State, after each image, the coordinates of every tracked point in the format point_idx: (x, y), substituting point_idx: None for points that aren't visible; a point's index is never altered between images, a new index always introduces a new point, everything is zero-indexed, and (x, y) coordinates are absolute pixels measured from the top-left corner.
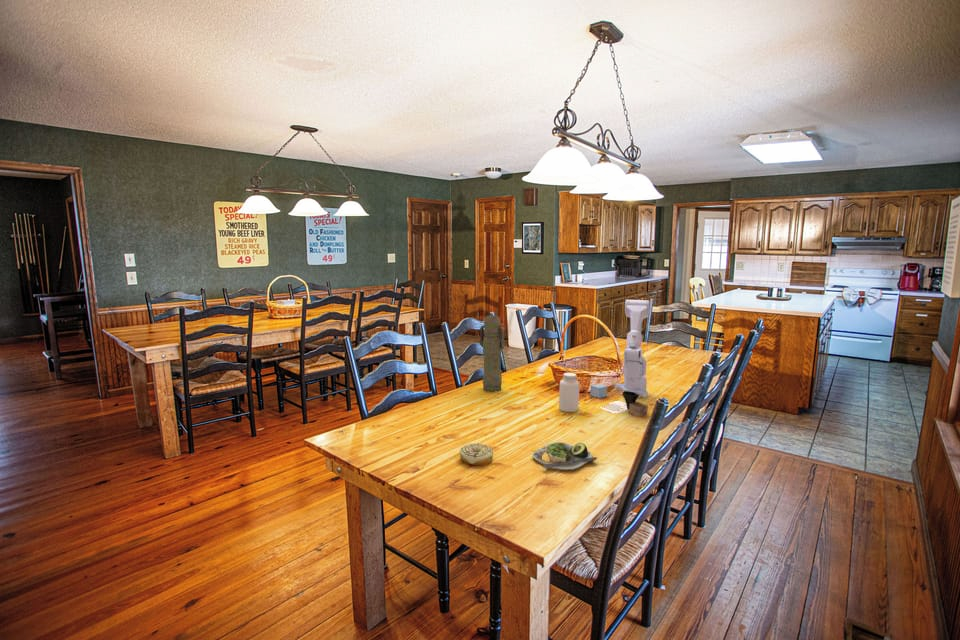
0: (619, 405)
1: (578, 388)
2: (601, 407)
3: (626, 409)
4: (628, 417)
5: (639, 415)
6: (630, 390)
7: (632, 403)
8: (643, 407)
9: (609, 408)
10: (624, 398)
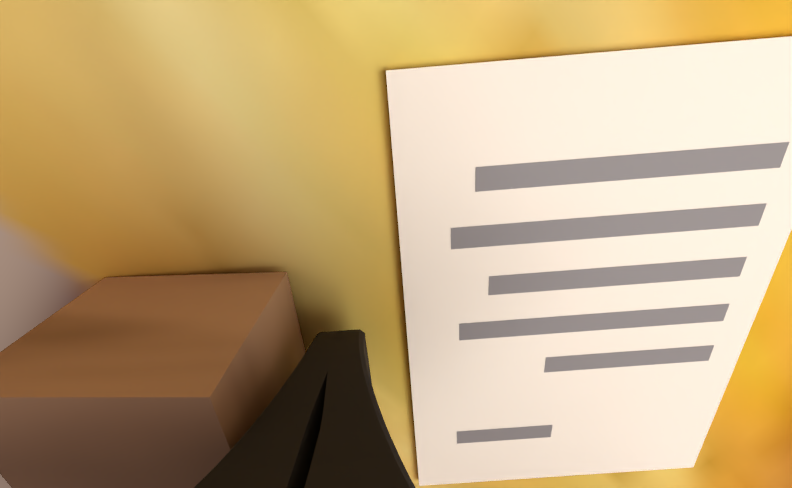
0: (581, 381)
1: None
2: (759, 101)
3: (425, 352)
4: (163, 154)
5: (80, 301)
6: None
7: (204, 445)
8: (3, 465)
9: (619, 185)
10: (401, 481)
